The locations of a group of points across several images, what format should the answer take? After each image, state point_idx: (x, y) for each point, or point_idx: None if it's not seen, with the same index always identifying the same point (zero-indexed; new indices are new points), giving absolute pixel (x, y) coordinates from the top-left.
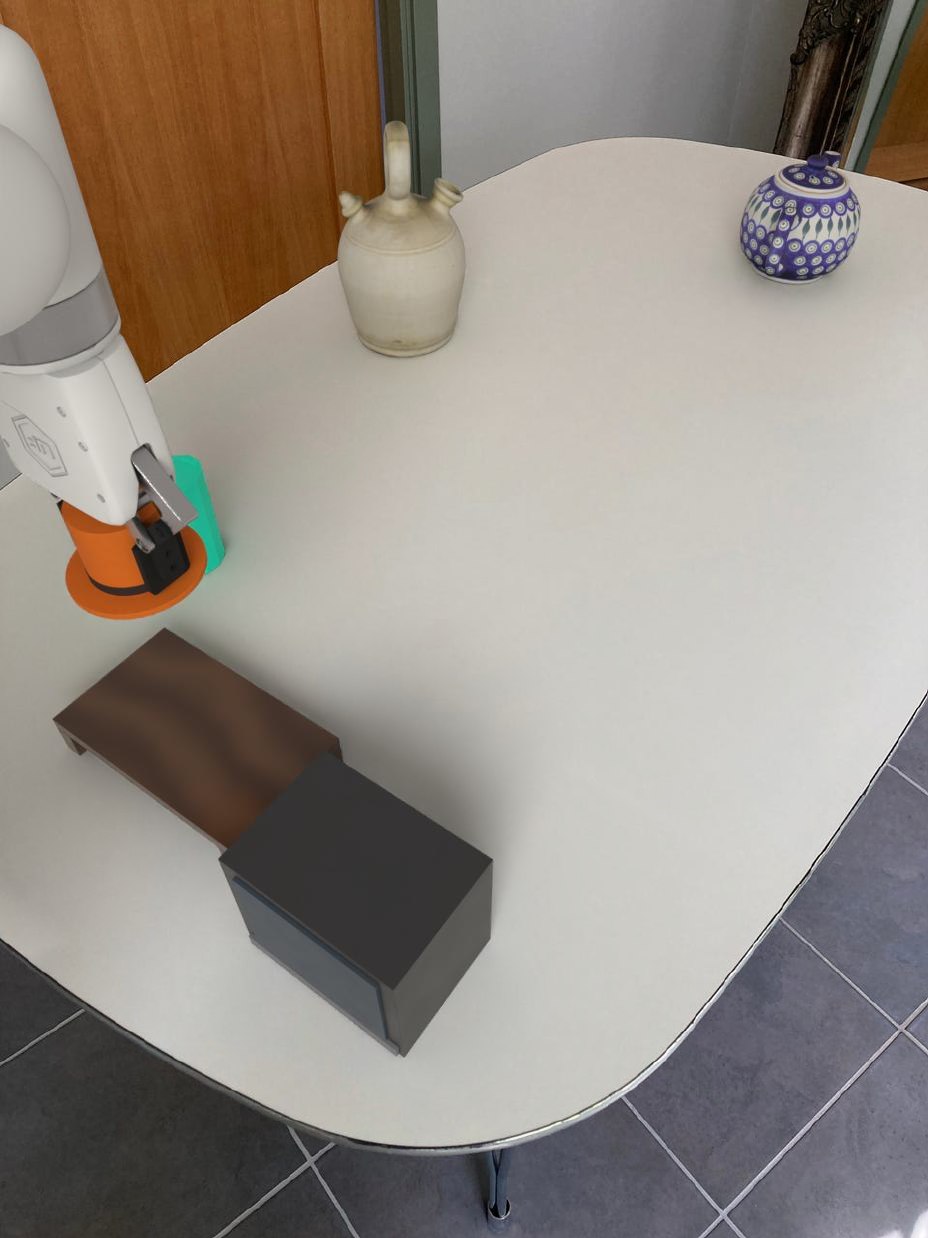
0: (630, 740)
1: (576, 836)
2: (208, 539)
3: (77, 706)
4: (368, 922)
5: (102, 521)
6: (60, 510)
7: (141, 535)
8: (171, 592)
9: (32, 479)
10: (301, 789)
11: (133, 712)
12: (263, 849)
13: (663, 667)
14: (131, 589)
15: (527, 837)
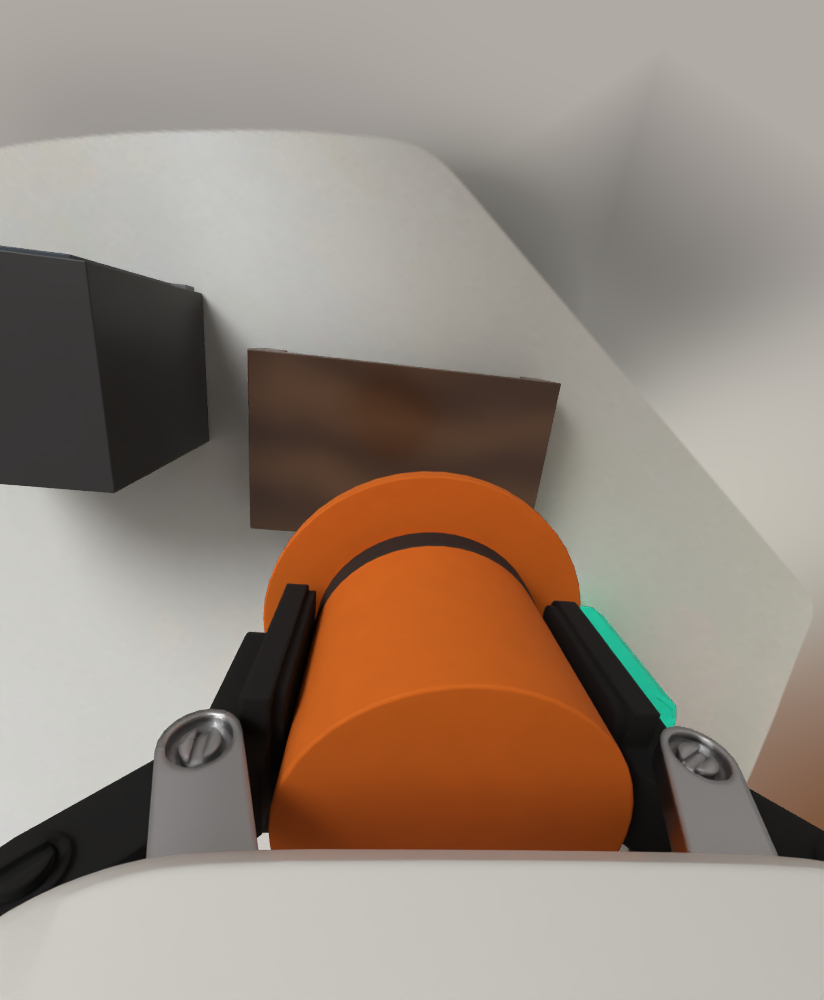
0: (57, 660)
1: (23, 554)
2: None
3: (544, 413)
4: None
5: (139, 879)
6: (636, 693)
7: (154, 798)
8: None
9: (800, 882)
10: (86, 424)
11: (478, 440)
12: (44, 312)
13: (88, 735)
14: (348, 569)
15: (59, 531)
